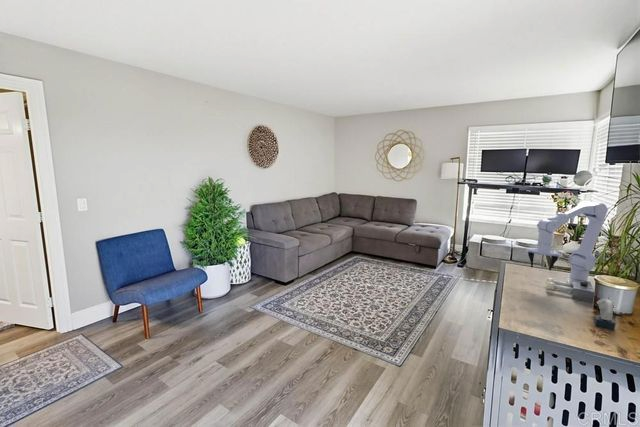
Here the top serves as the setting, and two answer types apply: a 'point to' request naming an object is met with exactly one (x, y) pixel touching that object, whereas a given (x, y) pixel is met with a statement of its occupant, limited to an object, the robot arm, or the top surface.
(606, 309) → the grey bust statue
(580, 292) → the mount
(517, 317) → the top surface
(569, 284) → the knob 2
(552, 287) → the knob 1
